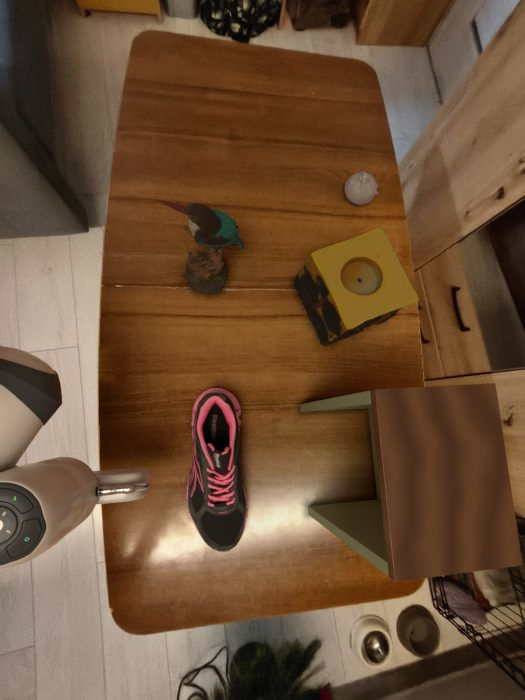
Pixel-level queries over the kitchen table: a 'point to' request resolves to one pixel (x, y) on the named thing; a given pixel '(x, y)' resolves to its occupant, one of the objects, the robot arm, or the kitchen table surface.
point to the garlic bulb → (360, 188)
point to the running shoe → (217, 470)
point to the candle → (353, 286)
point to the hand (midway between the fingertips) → (87, 480)
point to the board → (443, 481)
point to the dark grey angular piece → (360, 516)
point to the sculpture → (207, 245)
